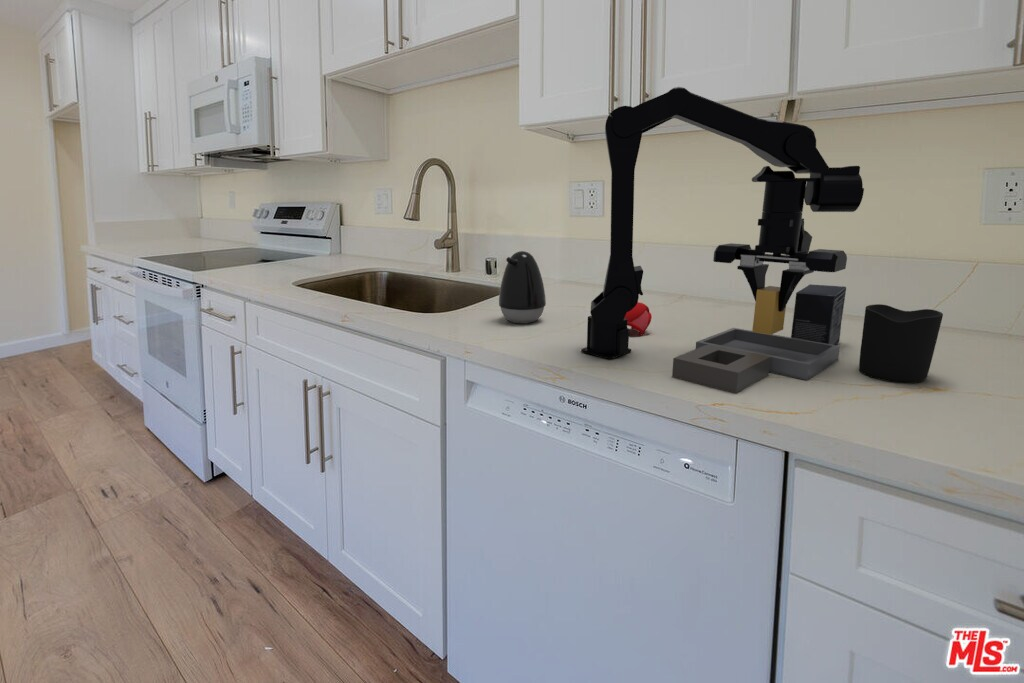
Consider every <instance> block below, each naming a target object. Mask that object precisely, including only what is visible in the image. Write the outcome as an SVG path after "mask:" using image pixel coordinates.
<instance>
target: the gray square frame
mask: <svg viewBox="0 0 1024 683" xmlns="http://www.w3.org/2000/svg"><path fill="white" fill-rule="evenodd" d="M770 360H771V356H767V355H762V354H757V353H751V352H746V351H741V350H736V349H731V348H726V347H721V346H716V345H711V344H707V345H705V346H702V347H700V348H697V349H696V348H695V349H692V350H690V351H688V352H685V353H682V354H680V355H677V356H675V357H673V359H672V373H671V374H672V376H671V378H675V379H679V380H683V381H686V382H687V381H688V382H691V383H693V384H694V383H695V384H698V385H703V386H707V387H710V388H714V389H718V390H722V391H726V392H730V393H734V394H737V393H739V392H741V391H743V390H745V389H746V388H749V387H750V386H752V385H754V384H755V383H757V382H759V381H761V380H763V379H764V378H766V377H768V376H769V375H770V372H769V368H770Z"/></svg>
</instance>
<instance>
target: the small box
mask: <svg viewBox="0 0 1024 683" xmlns="http://www.w3.org/2000/svg"><path fill="white" fill-rule="evenodd" d="M846 291H847V287H846V286H841V285H827V284H826V285H825V284H823V285H822V284H808V285H807V286H805V287H803V288H802V289H800V290H798V291H797V292H795V299H794V300H795V303H794V309H793V316H792V319H793V320H792V326H791V335H790V337H791V338H797V339H803V340H808V341H814V342H820V343H826V344H832V345H838V344H839V343H840V338H841V329H842V320H843V314H844V306H845V302H846V301H845V298H846Z"/></svg>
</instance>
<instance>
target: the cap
mask: <svg viewBox="0 0 1024 683" xmlns="http://www.w3.org/2000/svg"><path fill="white" fill-rule="evenodd" d="M624 318H625V319H628V323H627V327H630V329H631V330H633V329H634V330H633V331H636V332H638V334H639V335H640V336H643V335H645V332H646V331H647V329H648V327H649V326H650V325H651V321H652V318H653V317H652V313H651V312H650V308H649V306H648V305H646V304H645V303H643V302H639V301H638V303H637V305H636V306H635V307H634V308H633V309H632V310H631V311H629V312H627V313H626V315H625V317H624Z"/></svg>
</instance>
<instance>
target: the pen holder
mask: <svg viewBox="0 0 1024 683" xmlns="http://www.w3.org/2000/svg"><path fill="white" fill-rule="evenodd" d="M864 310H865V311H864V316H863V317H864V319H863V326H862V334H861V335H862V336H861V344H860V352H859V353H860V354H859V360H858V361H859V362H858V368H859V370H860V372H861V373H862V374H864V375H866V376H868V377H870V378H873V379H877V380H881V381H887V382H891V383H892V382H893V383H900V384H916V383H921V382H923V381H924V380H926V379H928V376H929V373H930V372H929V371H930V368H931V364H932V361H933V357H934V353H935V349H936V345H937V341H938V336H939V332H940V329H941V325H942V321H943V317H944V314H943V313H942V312H941V311H938V310H937V309H929V308H927V309H926V308H925V309H918V310H902V309H900V308H897V307H892V306H891V305H887V304H882V303H881V304H880V303H879V304H877V303H875V304H869V305H866V306H865V309H864Z"/></svg>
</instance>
